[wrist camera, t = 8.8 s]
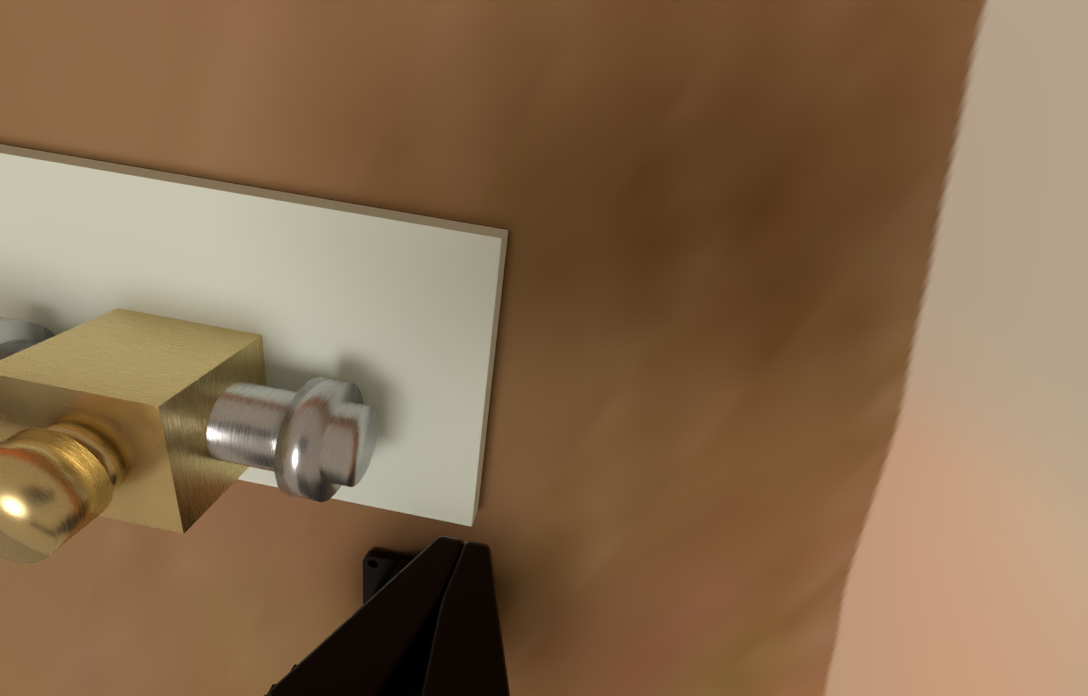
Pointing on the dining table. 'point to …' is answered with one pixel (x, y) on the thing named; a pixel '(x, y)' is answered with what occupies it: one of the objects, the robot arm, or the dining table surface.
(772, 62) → the dining table surface
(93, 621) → the dining table surface
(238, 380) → the valve
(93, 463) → the lever
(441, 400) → the board
